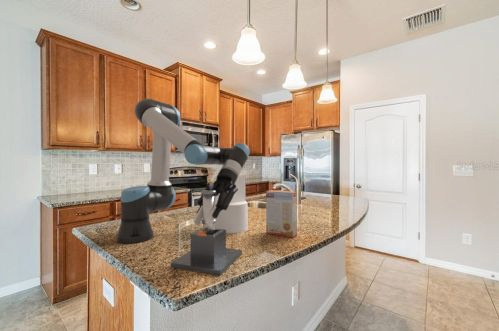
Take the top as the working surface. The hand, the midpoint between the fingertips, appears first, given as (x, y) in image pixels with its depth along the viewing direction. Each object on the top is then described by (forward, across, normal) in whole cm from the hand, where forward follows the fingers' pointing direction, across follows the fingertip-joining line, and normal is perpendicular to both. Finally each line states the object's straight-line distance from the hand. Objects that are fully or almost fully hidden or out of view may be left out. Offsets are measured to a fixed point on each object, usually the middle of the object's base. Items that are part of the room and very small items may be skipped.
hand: (201, 224), depth 78 cm
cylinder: (-20, +16, -39) cm, 47 cm away
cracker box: (-22, -11, -42) cm, 49 cm away
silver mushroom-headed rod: (+5, 0, -11) cm, 12 cm away
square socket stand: (+7, 0, -12) cm, 14 cm away
